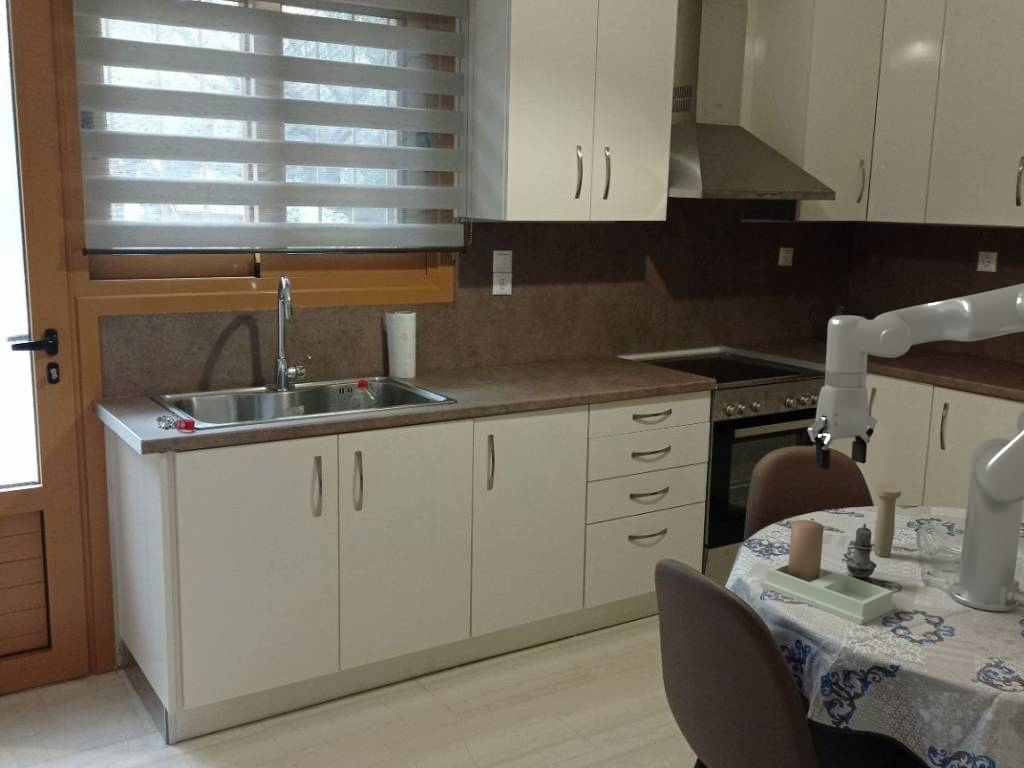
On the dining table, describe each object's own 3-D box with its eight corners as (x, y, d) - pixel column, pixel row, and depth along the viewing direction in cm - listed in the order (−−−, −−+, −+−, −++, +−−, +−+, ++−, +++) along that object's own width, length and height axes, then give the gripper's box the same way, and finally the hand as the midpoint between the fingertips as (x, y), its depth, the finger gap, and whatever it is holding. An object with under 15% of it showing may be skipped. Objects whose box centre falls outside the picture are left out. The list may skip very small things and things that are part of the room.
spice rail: (896, 608, 187) (902, 542, 185) (861, 624, 180) (867, 556, 177) (796, 572, 204) (801, 512, 202) (760, 586, 197) (765, 523, 194)
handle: (872, 558, 213) (878, 491, 210) (868, 548, 219) (875, 483, 216) (895, 561, 212) (902, 493, 209) (892, 550, 218) (898, 485, 215)
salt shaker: (876, 587, 197) (882, 529, 195) (846, 584, 199) (851, 526, 196) (872, 576, 203) (877, 520, 201) (842, 573, 204) (847, 517, 202)
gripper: (862, 372, 200) (857, 455, 203) (797, 380, 192) (793, 466, 195) (892, 378, 194) (887, 463, 197) (826, 386, 186) (822, 475, 189)
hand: (840, 465), depth 196 cm, fingers open, 9 cm apart
